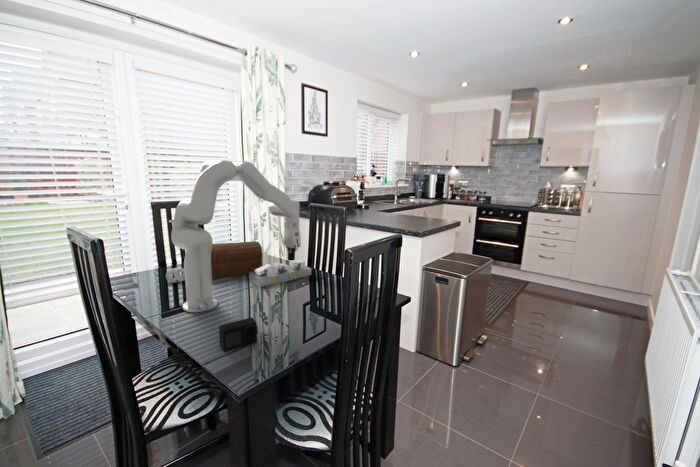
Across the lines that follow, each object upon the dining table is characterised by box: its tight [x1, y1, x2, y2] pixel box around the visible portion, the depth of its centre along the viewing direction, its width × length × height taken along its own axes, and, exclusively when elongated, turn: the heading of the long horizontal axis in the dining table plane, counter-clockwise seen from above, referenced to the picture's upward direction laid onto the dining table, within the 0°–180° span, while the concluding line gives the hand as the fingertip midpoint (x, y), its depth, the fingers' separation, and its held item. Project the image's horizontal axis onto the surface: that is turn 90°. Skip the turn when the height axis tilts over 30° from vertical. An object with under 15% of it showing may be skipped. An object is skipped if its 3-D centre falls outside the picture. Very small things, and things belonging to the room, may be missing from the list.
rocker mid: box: [272, 262, 290, 270], centre depth 161 cm, size 5×7×2 cm, turn 131°
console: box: [248, 264, 312, 288], centre depth 162 cm, size 12×29×5 cm, turn 131°
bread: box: [211, 241, 263, 279], centre depth 168 cm, size 18×30×16 cm, turn 115°
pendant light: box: [165, 219, 185, 283], centre depth 150 cm, size 9×9×30 cm
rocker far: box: [288, 259, 306, 267], centre depth 167 cm, size 5×7×2 cm, turn 131°
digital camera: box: [218, 317, 258, 353], centre depth 98 cm, size 10×5×7 cm, turn 128°
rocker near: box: [255, 263, 273, 275], centre depth 155 cm, size 5×7×2 cm, turn 131°
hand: (291, 259), depth 165 cm, fingers closed
